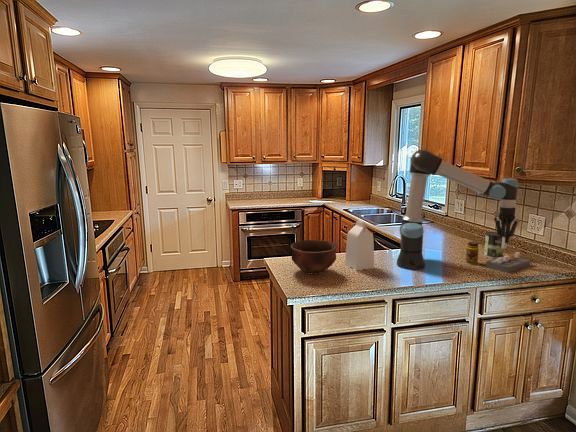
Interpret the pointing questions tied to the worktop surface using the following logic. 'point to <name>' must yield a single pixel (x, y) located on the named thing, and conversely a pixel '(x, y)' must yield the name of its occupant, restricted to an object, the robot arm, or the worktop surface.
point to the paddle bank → (508, 258)
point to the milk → (360, 247)
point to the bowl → (313, 255)
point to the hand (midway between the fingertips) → (503, 248)
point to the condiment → (472, 254)
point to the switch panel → (508, 264)
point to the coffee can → (493, 245)
